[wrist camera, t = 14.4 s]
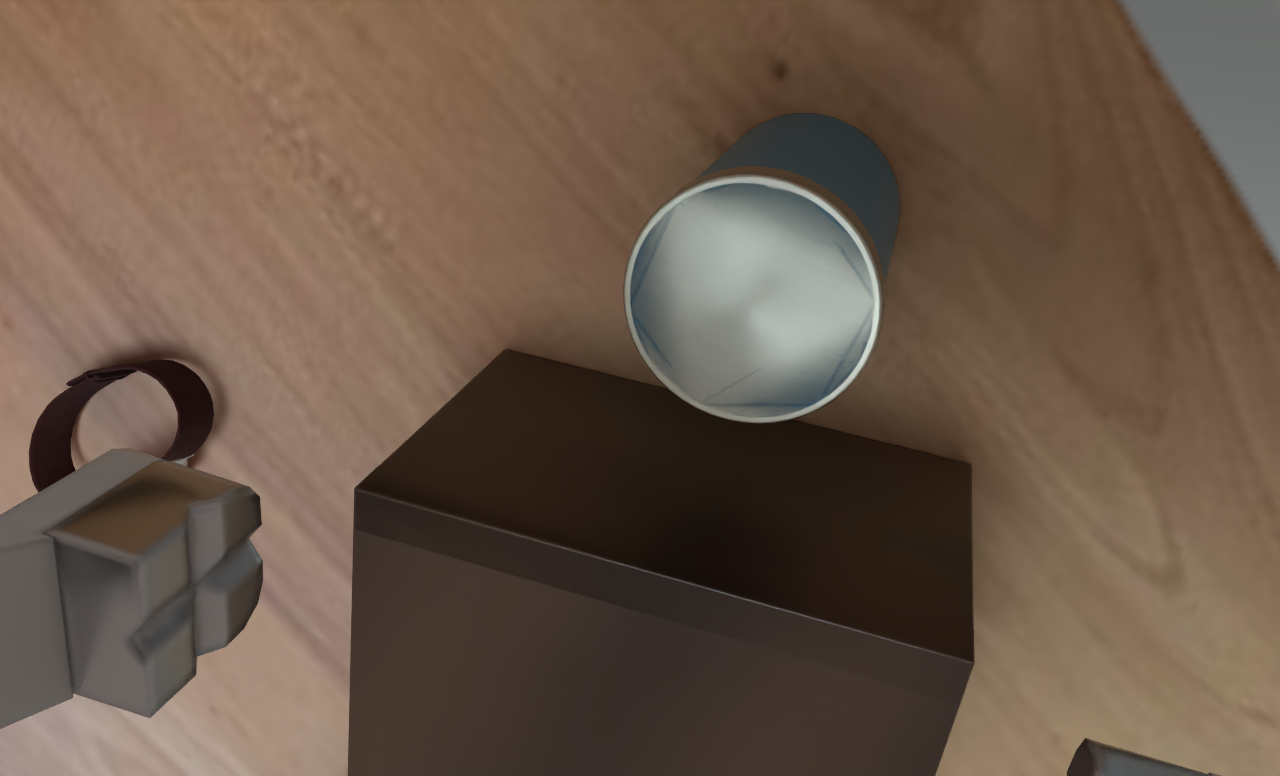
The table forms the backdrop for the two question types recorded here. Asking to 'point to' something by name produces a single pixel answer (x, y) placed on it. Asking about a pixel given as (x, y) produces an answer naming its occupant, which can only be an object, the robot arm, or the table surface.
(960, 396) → the table surface
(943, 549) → the brown box
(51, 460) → the watch
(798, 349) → the enamel canister
